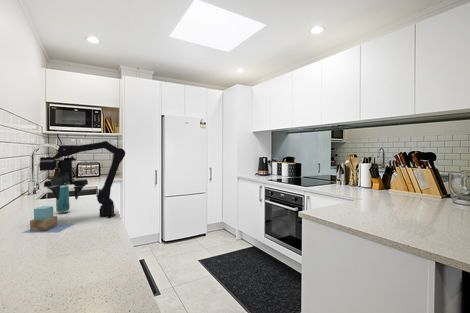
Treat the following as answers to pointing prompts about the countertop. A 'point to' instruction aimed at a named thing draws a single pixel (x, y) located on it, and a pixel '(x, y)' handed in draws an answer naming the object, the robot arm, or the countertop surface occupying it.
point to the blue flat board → (53, 230)
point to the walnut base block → (43, 224)
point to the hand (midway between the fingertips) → (67, 199)
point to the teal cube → (43, 213)
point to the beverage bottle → (63, 199)
